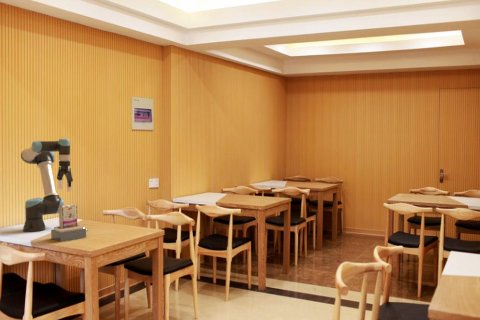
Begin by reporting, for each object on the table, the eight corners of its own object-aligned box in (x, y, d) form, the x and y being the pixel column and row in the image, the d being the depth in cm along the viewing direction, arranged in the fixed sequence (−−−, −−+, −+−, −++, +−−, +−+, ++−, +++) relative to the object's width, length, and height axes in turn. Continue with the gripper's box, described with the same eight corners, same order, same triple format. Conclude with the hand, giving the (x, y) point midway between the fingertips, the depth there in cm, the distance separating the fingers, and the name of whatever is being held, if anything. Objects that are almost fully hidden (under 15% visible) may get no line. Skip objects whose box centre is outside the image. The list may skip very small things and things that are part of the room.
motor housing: (51, 238, 311) (51, 226, 311) (82, 233, 328) (82, 222, 328) (60, 241, 302) (60, 229, 301) (92, 236, 319) (92, 224, 318)
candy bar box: (73, 227, 319) (72, 204, 318) (77, 228, 316) (77, 204, 315) (58, 230, 310) (58, 206, 309) (63, 231, 307) (62, 206, 306)
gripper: (51, 159, 330) (52, 188, 332) (67, 162, 313) (67, 192, 315) (61, 159, 336) (62, 187, 337) (77, 161, 318) (78, 191, 320)
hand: (64, 190), depth 326 cm, fingers open, 13 cm apart
